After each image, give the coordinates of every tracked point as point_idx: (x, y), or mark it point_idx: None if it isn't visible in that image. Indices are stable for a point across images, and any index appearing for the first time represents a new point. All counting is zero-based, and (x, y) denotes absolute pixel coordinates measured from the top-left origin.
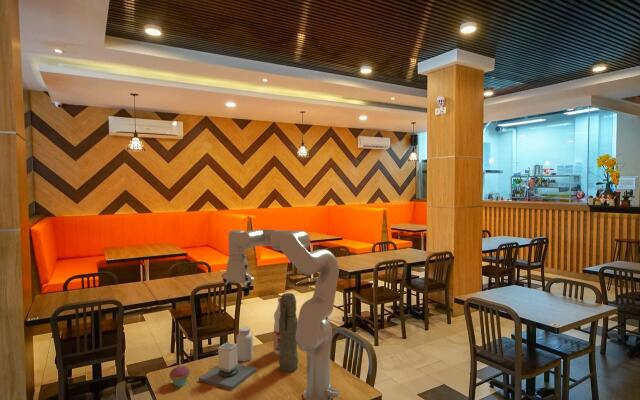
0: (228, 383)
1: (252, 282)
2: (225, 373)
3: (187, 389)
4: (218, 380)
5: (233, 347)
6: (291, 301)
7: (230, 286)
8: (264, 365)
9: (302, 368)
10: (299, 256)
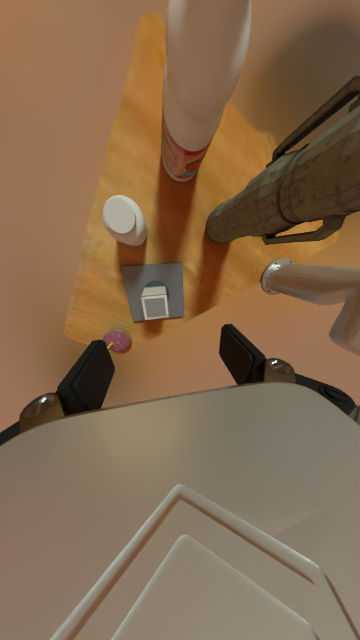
0: (175, 313)
1: (348, 396)
2: None
3: (139, 336)
4: None
5: (167, 306)
6: None
7: (90, 383)
8: (181, 238)
9: None
10: None
